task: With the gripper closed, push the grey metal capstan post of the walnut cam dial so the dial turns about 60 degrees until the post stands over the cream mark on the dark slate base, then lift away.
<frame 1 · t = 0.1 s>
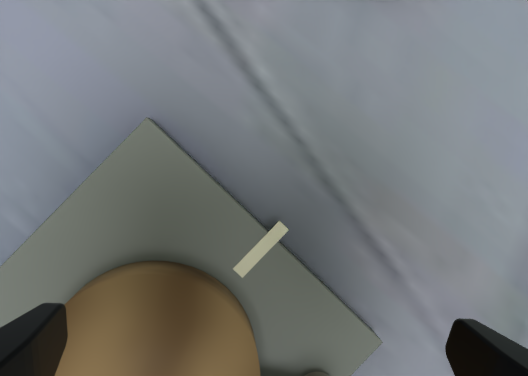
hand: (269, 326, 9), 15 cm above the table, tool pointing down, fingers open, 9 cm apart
slate base: (159, 344, 24), on the table
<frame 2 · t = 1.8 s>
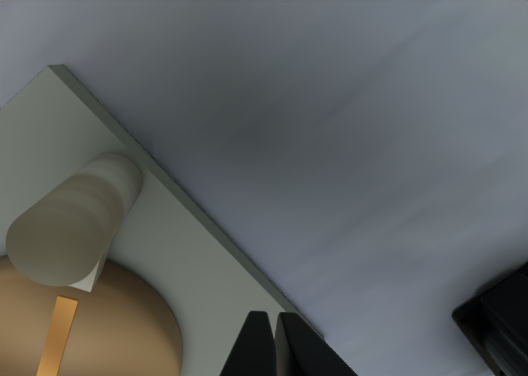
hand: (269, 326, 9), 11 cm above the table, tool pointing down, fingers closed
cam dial: (47, 361, 16), point 5 cm above the table, hinge at -60.0°
slate base: (77, 329, 21), on the table
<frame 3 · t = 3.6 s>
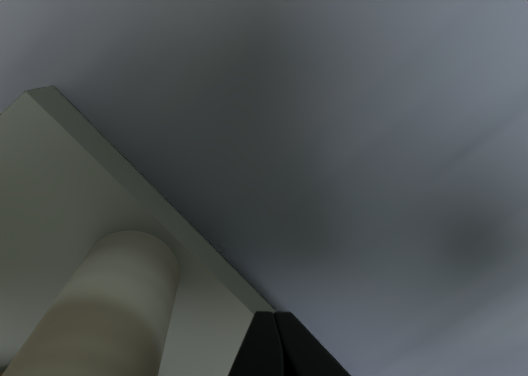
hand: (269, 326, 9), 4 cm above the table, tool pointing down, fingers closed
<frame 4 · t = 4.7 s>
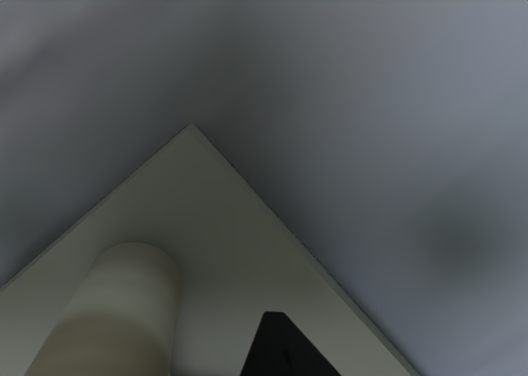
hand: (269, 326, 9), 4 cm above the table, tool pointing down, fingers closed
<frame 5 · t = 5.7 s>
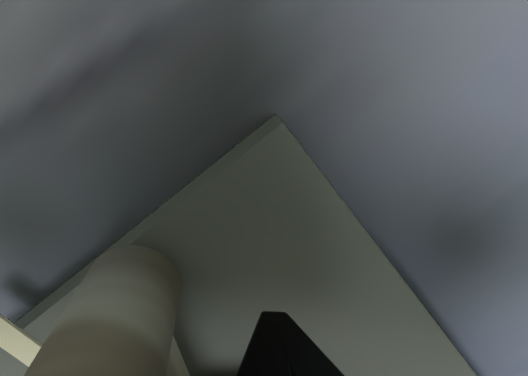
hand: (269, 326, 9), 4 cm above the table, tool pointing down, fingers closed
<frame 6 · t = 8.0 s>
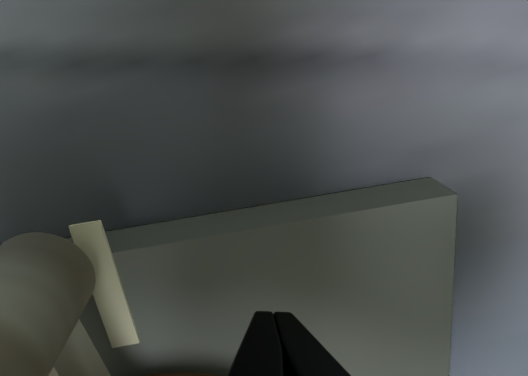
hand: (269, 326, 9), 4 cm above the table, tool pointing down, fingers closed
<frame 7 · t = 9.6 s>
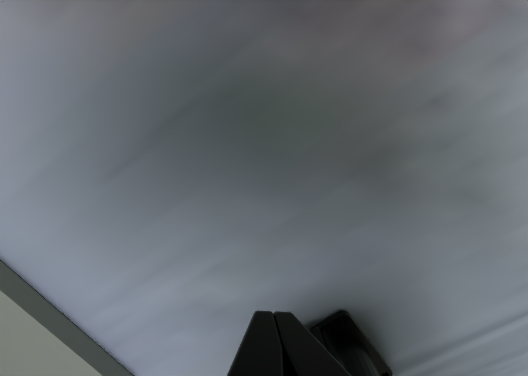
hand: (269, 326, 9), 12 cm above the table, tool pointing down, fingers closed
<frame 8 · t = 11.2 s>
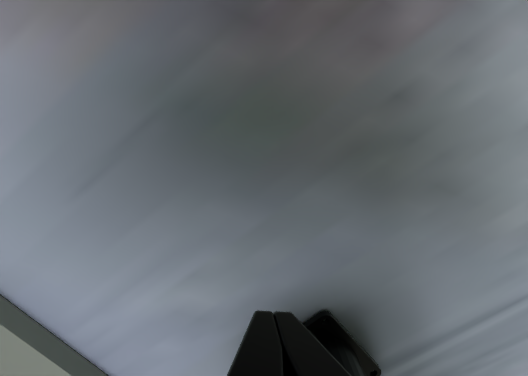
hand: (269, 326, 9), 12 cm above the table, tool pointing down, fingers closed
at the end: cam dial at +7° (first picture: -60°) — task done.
